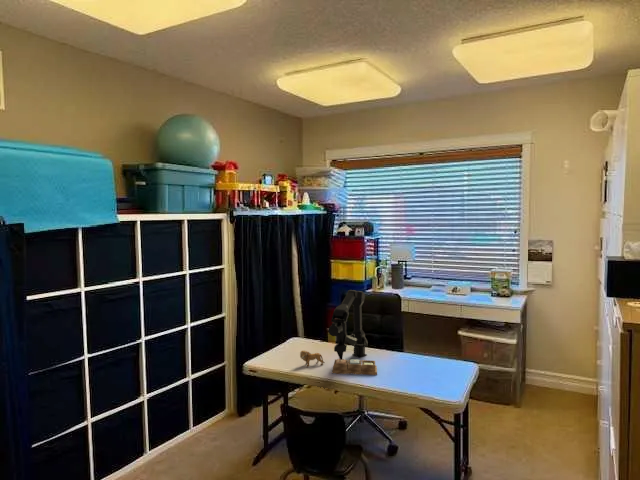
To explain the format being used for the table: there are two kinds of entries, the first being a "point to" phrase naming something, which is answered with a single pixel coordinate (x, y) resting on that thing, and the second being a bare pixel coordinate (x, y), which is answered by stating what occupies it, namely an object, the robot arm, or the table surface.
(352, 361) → the button
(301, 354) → the lion figurine
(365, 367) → the button board
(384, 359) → the table surface
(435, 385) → the table surface
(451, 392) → the table surface
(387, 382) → the table surface
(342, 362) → the three-pip button
